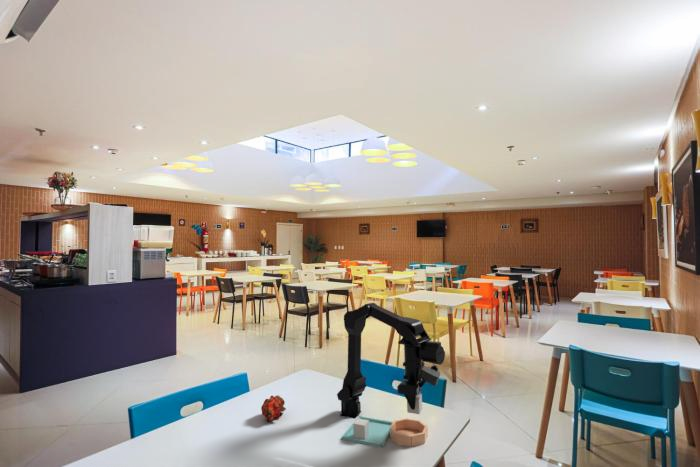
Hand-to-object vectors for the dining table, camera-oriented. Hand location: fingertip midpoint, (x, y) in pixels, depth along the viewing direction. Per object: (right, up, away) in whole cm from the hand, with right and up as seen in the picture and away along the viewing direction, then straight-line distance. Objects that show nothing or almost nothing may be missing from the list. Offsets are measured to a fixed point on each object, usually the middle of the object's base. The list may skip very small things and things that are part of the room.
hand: (414, 406), depth 122 cm
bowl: (-2, -11, 0) cm, 11 cm away
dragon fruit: (-50, -13, +17) cm, 54 cm away
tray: (-15, -11, +4) cm, 19 cm away
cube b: (0, -1, 0) cm, 1 cm away
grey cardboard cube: (-18, -11, +1) cm, 20 cm away
